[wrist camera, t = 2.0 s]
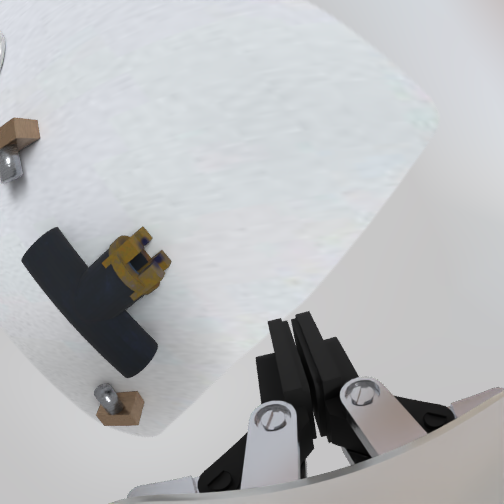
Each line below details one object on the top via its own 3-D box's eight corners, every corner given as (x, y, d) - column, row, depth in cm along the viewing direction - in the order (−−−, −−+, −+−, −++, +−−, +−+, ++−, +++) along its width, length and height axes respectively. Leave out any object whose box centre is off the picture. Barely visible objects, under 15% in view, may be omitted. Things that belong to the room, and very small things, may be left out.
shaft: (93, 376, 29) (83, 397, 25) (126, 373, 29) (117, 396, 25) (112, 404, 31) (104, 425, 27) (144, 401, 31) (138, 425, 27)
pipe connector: (81, 183, 18) (206, 333, 22) (109, 177, 23) (210, 302, 27) (13, 269, 20) (118, 385, 24) (42, 250, 25) (131, 353, 29)
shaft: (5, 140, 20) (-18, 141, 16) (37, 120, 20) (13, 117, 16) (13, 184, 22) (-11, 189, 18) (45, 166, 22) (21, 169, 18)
